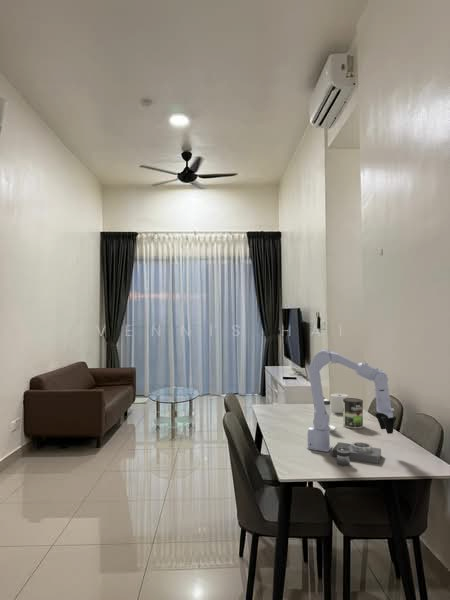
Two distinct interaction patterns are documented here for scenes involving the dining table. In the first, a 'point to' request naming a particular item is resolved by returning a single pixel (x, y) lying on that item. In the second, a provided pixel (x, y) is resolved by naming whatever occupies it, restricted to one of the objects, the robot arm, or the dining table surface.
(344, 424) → the coffee can
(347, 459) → the lens
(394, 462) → the dining table surface
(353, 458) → the camera body
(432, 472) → the dining table surface
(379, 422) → the robot arm
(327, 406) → the panda figurine
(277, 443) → the dining table surface
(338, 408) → the toilet tissue
